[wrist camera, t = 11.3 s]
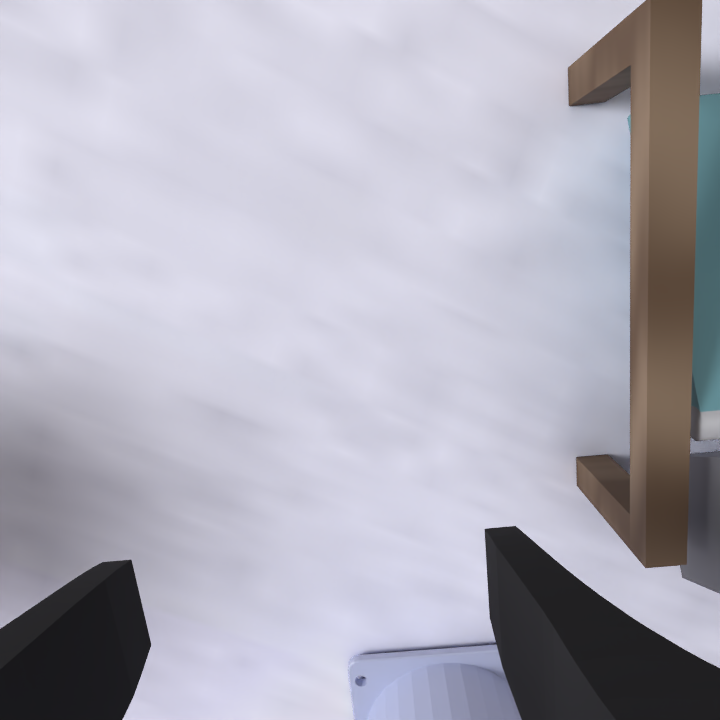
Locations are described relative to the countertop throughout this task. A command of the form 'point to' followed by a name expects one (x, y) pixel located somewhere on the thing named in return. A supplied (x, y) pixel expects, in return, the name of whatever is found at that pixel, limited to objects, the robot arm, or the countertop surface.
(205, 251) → the countertop surface
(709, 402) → the trapdoor
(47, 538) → the countertop surface
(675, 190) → the frame
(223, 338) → the countertop surface
